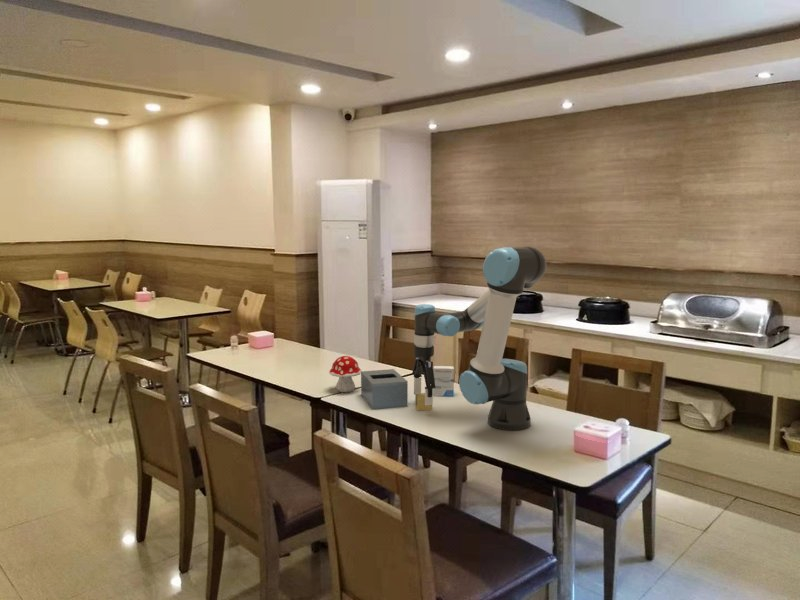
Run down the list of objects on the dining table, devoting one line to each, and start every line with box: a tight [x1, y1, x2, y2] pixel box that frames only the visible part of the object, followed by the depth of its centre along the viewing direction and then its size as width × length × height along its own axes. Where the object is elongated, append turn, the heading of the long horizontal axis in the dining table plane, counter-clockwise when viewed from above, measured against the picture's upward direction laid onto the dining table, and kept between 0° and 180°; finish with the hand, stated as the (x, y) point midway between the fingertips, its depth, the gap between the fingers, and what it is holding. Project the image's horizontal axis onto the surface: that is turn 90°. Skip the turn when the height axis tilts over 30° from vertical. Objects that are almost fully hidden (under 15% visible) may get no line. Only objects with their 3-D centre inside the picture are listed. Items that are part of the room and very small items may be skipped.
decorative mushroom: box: [328, 355, 362, 393], centre depth 251 cm, size 14×14×15 cm
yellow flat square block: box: [414, 392, 433, 412], centre depth 227 cm, size 2×6×6 cm, turn 106°
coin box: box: [360, 368, 409, 410], centre depth 238 cm, size 20×14×10 cm
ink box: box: [433, 365, 455, 397], centre depth 246 cm, size 8×5×12 cm, turn 84°
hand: (422, 399), depth 228 cm, fingers open, 13 cm apart
